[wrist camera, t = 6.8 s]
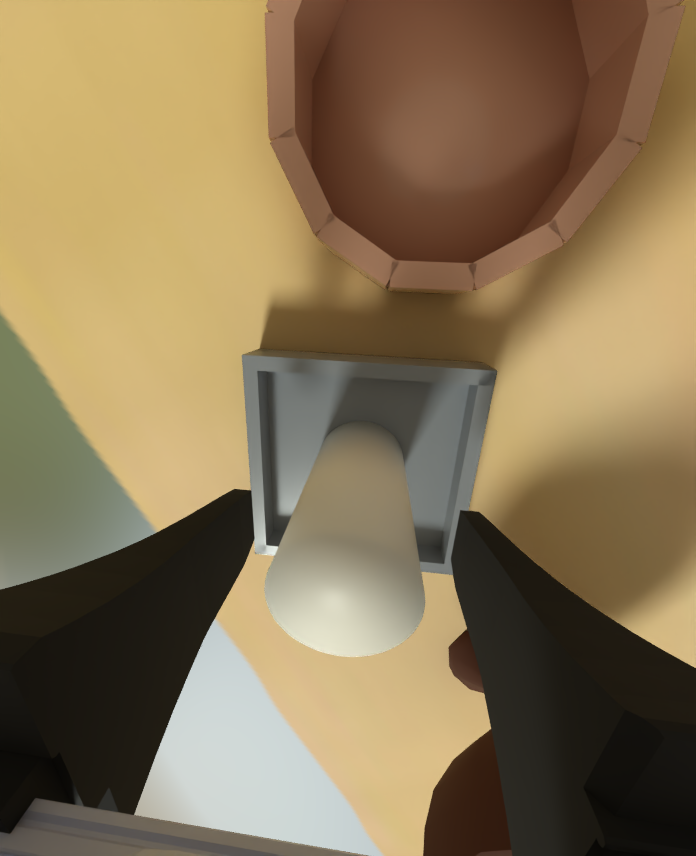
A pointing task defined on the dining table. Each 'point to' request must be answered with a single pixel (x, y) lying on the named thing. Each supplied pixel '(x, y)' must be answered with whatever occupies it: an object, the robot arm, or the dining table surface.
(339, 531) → the peg
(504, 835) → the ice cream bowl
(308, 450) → the tray
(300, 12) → the terracotta bowl
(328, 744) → the dining table surface
